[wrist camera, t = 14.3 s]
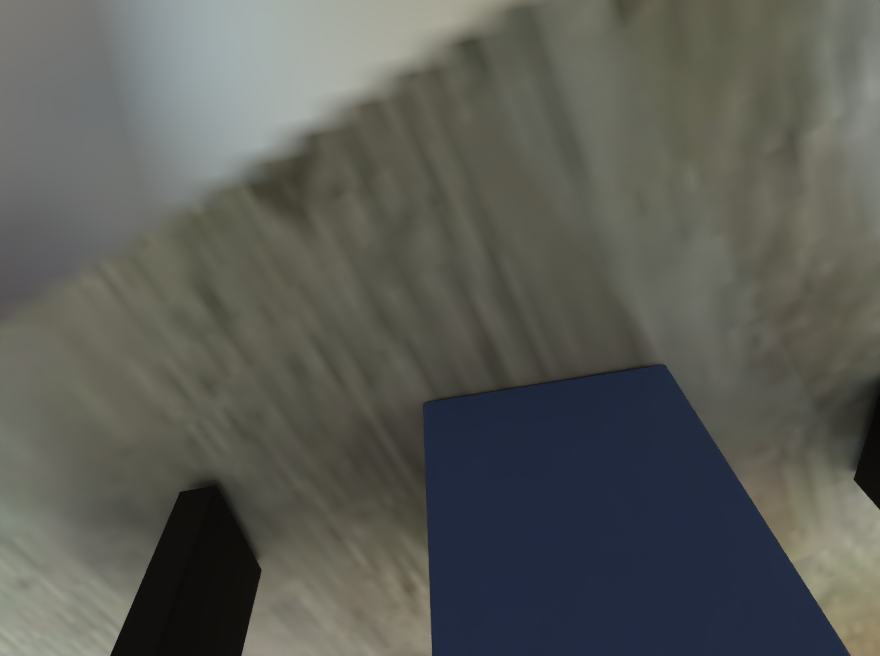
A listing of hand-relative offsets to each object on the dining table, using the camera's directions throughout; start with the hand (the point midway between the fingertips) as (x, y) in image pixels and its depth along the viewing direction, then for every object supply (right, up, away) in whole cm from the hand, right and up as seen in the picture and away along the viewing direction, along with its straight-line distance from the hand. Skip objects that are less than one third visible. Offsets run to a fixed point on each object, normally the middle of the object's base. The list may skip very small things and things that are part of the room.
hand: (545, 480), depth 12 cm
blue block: (0, 0, 0) cm, 0 cm away
